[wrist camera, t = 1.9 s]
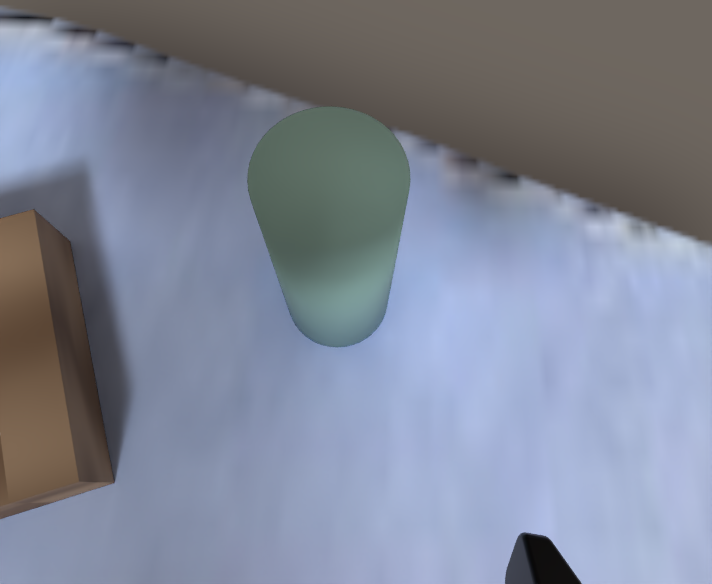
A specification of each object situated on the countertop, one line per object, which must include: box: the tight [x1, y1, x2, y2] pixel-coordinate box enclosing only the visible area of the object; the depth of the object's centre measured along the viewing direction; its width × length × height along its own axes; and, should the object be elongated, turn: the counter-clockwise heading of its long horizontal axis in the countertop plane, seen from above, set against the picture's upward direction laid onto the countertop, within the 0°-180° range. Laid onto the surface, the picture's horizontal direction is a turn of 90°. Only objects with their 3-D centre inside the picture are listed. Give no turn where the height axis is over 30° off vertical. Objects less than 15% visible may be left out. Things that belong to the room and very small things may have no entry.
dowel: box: [247, 107, 410, 347], centre depth 20 cm, size 4×4×10 cm
